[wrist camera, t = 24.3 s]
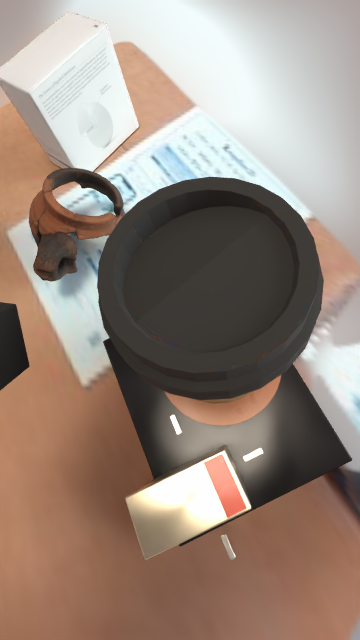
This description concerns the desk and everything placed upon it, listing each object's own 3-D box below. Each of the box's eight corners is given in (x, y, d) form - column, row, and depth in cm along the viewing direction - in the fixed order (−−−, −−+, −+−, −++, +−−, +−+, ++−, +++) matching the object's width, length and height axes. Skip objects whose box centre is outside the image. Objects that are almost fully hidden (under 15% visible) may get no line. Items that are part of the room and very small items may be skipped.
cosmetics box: (105, 109, 41) (66, 6, 31) (140, 127, 38) (110, 22, 29) (48, 161, 39) (-12, 70, 29) (81, 183, 37) (28, 92, 27)
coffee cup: (145, 357, 25) (40, 262, 11) (221, 293, 26) (212, 131, 12) (213, 443, 22) (186, 458, 8) (297, 367, 23) (401, 264, 9)
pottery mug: (48, 213, 36) (48, 147, 30) (126, 240, 39) (142, 184, 32) (4, 291, 30) (-8, 228, 23) (101, 319, 32) (115, 269, 25)
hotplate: (94, 357, 29) (82, 350, 26) (237, 287, 29) (238, 274, 27) (172, 575, 22) (164, 593, 20) (356, 483, 22) (371, 489, 20)
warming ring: (141, 336, 26) (140, 335, 26) (242, 287, 26) (243, 285, 26) (189, 448, 23) (189, 448, 22) (306, 390, 23) (307, 390, 22)
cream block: (172, 519, 21) (142, 563, 14) (156, 477, 22) (122, 498, 15) (244, 484, 21) (252, 510, 14) (226, 444, 22) (224, 448, 15)
